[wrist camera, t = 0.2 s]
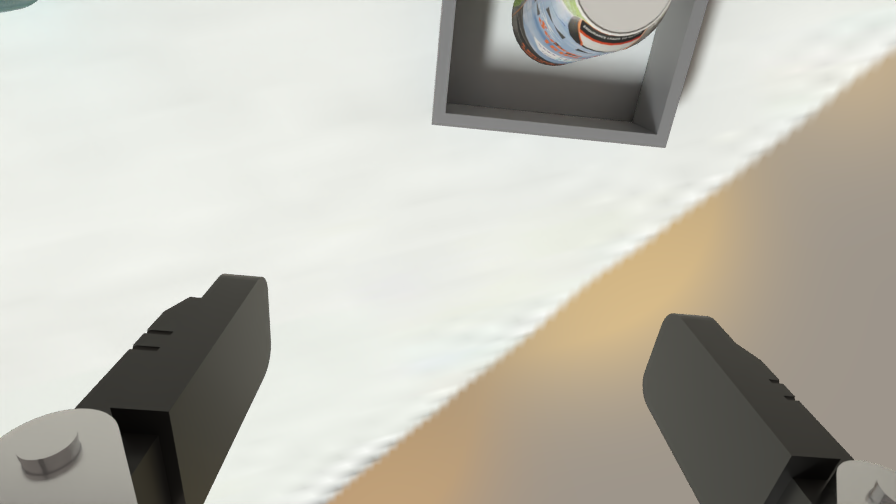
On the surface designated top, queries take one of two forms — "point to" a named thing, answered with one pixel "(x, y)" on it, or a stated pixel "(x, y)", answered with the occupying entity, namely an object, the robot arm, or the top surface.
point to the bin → (646, 128)
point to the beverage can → (582, 27)
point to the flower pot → (14, 4)
